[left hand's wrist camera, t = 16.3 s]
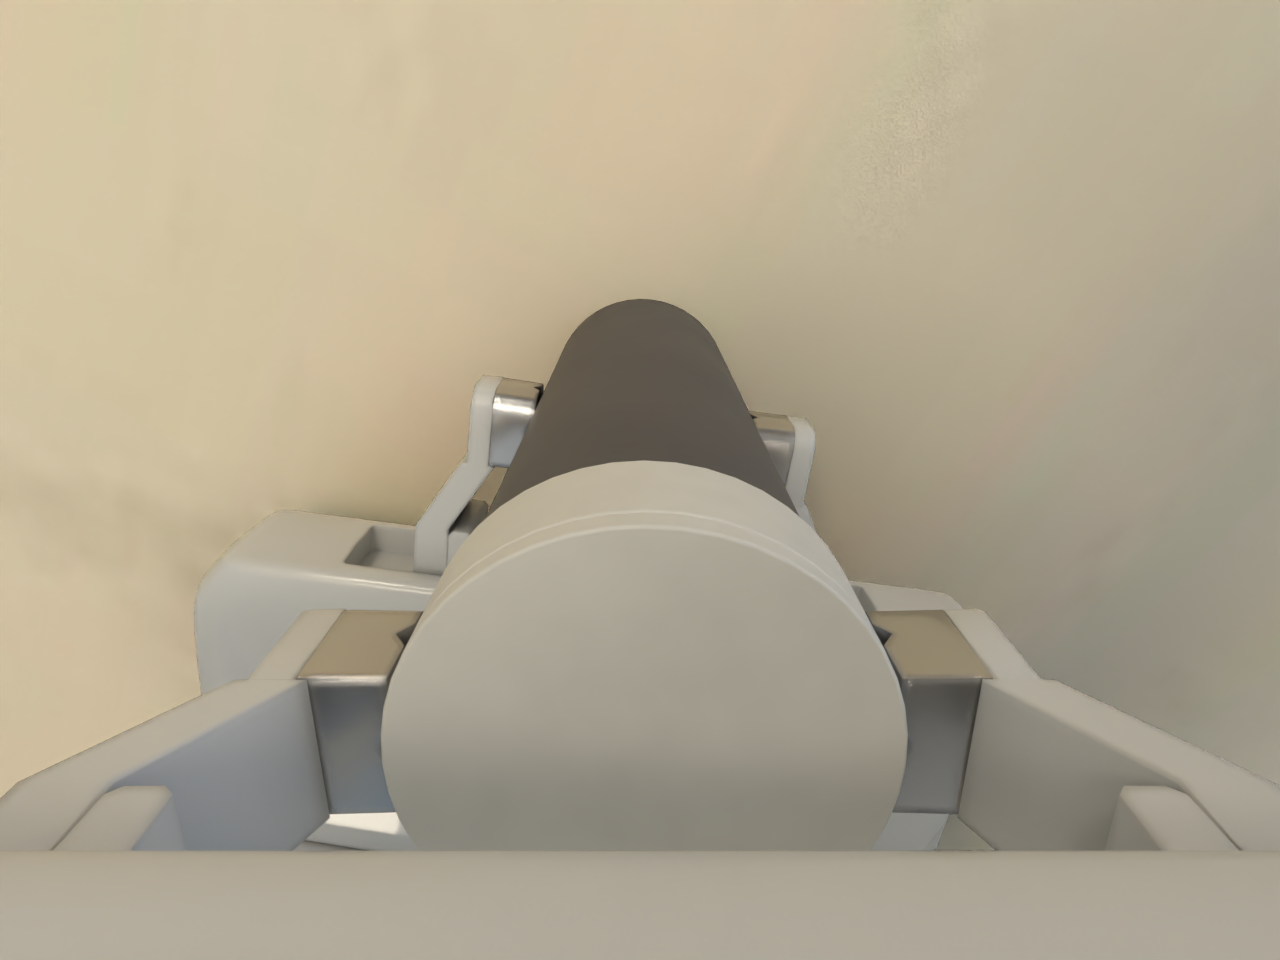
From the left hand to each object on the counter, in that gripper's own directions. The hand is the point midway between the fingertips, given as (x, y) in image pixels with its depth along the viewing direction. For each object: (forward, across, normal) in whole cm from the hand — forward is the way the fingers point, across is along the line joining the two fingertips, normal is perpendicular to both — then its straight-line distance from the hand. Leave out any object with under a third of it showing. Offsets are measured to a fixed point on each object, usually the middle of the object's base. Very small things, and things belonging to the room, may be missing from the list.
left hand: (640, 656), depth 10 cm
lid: (-2, 0, 0) cm, 2 cm away
